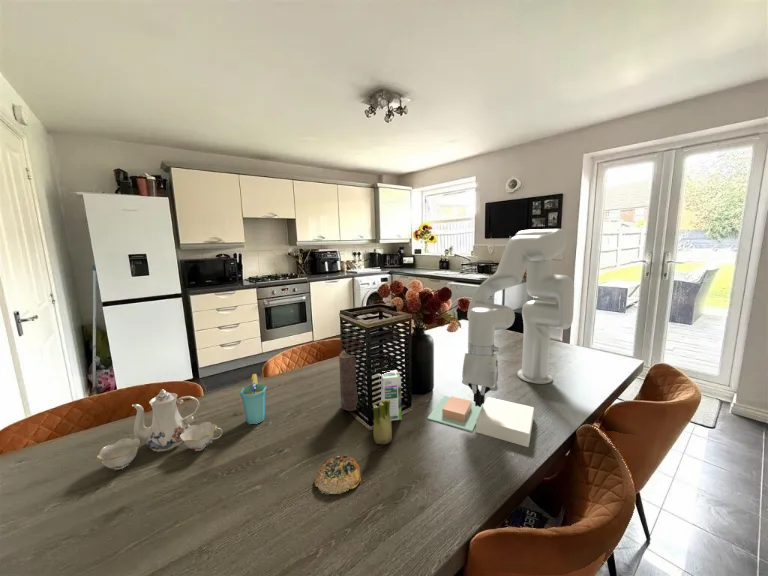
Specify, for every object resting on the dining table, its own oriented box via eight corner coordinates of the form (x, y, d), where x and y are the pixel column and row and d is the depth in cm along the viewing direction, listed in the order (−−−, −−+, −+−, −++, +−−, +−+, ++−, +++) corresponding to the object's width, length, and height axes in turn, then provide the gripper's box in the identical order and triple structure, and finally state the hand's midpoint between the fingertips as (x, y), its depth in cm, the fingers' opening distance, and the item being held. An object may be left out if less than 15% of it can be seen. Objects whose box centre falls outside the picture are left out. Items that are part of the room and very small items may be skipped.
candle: (359, 415, 99) (357, 356, 96) (337, 413, 101) (335, 355, 98) (365, 403, 107) (363, 348, 104) (345, 401, 108) (343, 347, 105)
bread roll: (339, 455, 81) (340, 439, 79) (370, 480, 74) (371, 463, 73) (304, 482, 72) (304, 465, 71) (336, 513, 66) (336, 495, 64)
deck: (486, 407, 102) (487, 396, 101) (533, 419, 95) (533, 407, 95) (476, 432, 89) (476, 419, 89) (528, 447, 82) (529, 433, 82)
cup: (271, 430, 92) (268, 383, 90) (243, 437, 89) (239, 389, 86) (266, 408, 104) (263, 366, 102) (242, 414, 101) (238, 371, 99)
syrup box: (384, 422, 95) (383, 378, 93) (380, 412, 101) (379, 370, 98) (401, 420, 96) (401, 376, 94) (397, 410, 102) (396, 368, 100)
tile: (471, 401, 101) (471, 408, 101) (451, 396, 104) (450, 403, 105) (464, 414, 93) (464, 422, 94) (442, 408, 97) (442, 416, 97)
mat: (444, 396, 110) (444, 395, 110) (484, 406, 103) (484, 405, 103) (427, 419, 96) (427, 417, 96) (472, 432, 89) (472, 430, 89)
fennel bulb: (374, 448, 83) (373, 407, 81) (370, 437, 88) (369, 398, 86) (395, 444, 85) (394, 404, 83) (390, 434, 89) (389, 395, 87)
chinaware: (90, 494, 72) (75, 433, 68) (111, 446, 86) (99, 394, 82) (223, 454, 85) (217, 401, 81) (223, 418, 99) (217, 372, 95)
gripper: (508, 348, 92) (506, 404, 95) (459, 341, 100) (458, 393, 102) (504, 356, 86) (502, 416, 89) (452, 348, 93) (451, 404, 96)
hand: (478, 404), depth 95 cm, fingers closed
